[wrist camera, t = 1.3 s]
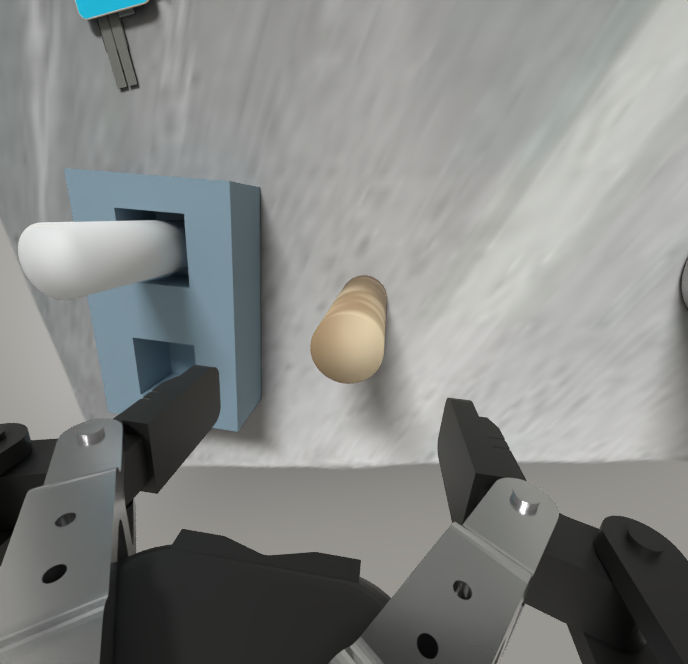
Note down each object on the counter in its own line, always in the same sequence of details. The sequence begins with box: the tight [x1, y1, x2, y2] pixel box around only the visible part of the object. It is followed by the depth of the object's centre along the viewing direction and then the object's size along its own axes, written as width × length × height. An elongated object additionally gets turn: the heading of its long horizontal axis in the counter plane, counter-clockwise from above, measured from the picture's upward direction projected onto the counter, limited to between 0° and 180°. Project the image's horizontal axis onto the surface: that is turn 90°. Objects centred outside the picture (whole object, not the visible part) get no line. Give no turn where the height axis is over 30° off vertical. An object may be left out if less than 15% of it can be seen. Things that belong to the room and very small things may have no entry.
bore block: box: [18, 168, 261, 432], centre depth 23 cm, size 11×18×12 cm, turn 175°
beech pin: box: [310, 276, 387, 384], centre depth 22 cm, size 4×4×11 cm
